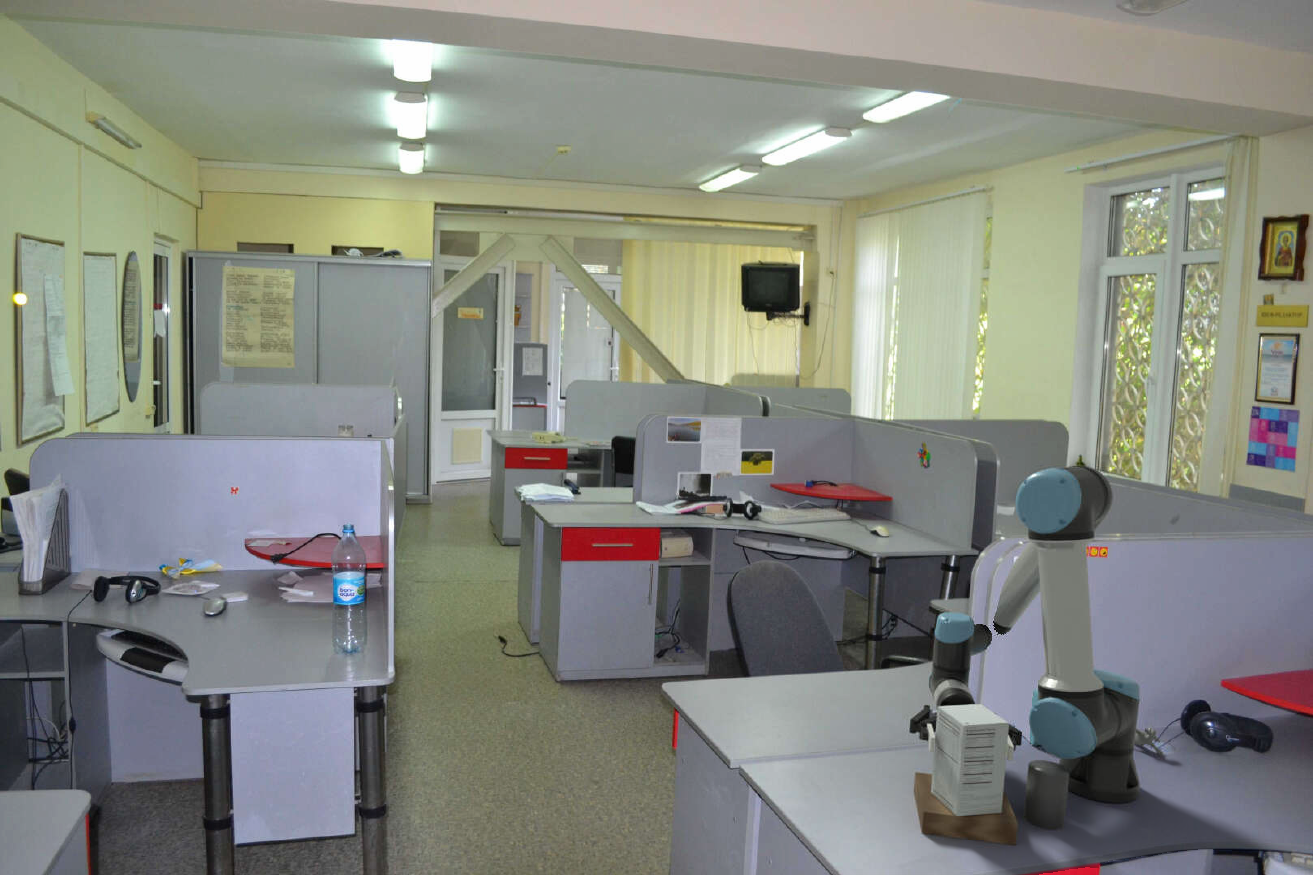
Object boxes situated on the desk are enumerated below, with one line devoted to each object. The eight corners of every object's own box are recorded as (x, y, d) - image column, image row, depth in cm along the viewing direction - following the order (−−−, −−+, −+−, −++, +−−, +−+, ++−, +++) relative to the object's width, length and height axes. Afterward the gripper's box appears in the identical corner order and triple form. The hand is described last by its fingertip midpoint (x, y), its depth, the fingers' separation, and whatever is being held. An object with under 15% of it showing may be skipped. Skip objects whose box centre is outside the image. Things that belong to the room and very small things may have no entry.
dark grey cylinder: (1059, 813, 183) (1064, 762, 182) (1068, 831, 177) (1073, 779, 175) (1020, 808, 185) (1025, 758, 183) (1027, 826, 178) (1032, 774, 177)
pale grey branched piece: (1153, 742, 219) (1177, 745, 211) (1138, 762, 218) (1161, 766, 209) (1119, 710, 221) (1141, 711, 212) (1103, 730, 219) (1124, 732, 211)
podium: (999, 802, 187) (1001, 782, 186) (1015, 845, 171) (1017, 823, 170) (913, 791, 189) (915, 771, 189) (921, 832, 174) (923, 811, 173)
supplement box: (1003, 814, 174) (1011, 723, 172) (956, 817, 171) (964, 725, 169) (973, 788, 183) (981, 702, 181) (929, 792, 181) (936, 704, 179)
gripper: (1018, 730, 194) (1042, 777, 174) (890, 716, 198) (898, 760, 178) (1022, 694, 194) (1046, 737, 173) (893, 680, 197) (902, 721, 177)
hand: (971, 749), depth 175 cm, fingers open, 13 cm apart
